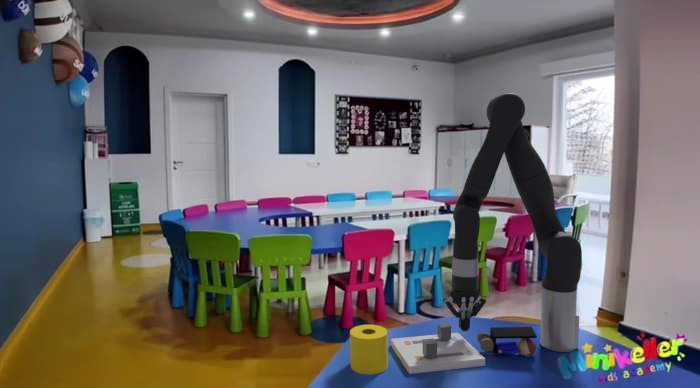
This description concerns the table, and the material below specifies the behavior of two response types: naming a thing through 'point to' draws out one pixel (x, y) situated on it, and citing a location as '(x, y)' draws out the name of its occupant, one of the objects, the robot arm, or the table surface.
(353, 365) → the tape roll
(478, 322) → the table surface
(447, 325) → the handle
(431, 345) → the on handle
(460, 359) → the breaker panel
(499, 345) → the black toy car
